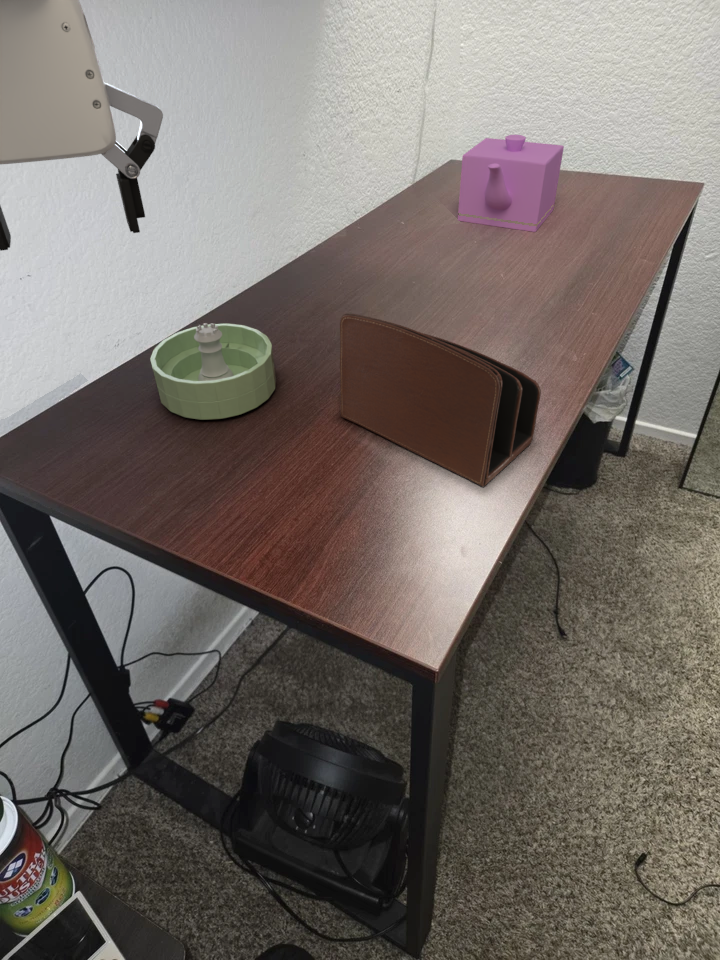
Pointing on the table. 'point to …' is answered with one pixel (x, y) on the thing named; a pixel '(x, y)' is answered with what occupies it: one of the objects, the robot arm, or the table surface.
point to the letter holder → (435, 397)
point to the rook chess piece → (211, 354)
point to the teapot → (509, 182)
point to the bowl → (214, 398)
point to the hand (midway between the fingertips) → (71, 235)
